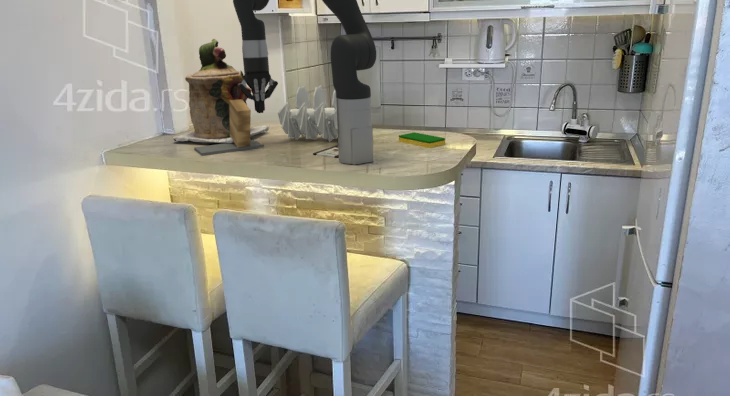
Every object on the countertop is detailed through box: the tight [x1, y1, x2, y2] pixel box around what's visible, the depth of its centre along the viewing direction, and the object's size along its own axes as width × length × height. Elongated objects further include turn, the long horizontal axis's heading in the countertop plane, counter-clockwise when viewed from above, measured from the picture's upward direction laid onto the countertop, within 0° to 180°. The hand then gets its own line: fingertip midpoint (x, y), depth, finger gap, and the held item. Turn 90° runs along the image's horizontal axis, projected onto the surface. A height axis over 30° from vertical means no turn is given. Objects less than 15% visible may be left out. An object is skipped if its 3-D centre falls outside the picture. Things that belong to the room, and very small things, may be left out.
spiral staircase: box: [277, 85, 338, 143], centre depth 176 cm, size 18×18×25 cm
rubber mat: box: [193, 139, 265, 157], centre depth 170 cm, size 10×19×1 cm, turn 120°
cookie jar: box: [172, 38, 270, 144], centre depth 182 cm, size 25×25×32 cm
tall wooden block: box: [229, 99, 252, 147], centre depth 168 cm, size 4×8×12 cm, turn 29°
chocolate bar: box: [312, 144, 339, 159], centre depth 163 cm, size 9×1×18 cm
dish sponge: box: [398, 131, 446, 149], centre depth 170 cm, size 7×14×2 cm, turn 39°
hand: (260, 112), depth 172 cm, fingers closed
